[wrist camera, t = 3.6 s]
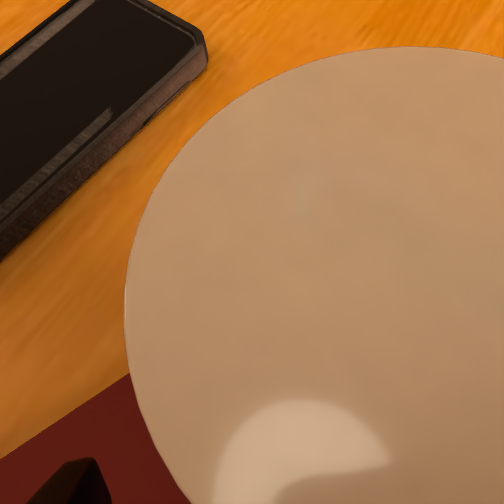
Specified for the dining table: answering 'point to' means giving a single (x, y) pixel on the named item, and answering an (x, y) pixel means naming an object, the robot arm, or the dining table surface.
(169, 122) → the dining table surface
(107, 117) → the phone
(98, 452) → the red mat
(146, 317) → the blue canister
